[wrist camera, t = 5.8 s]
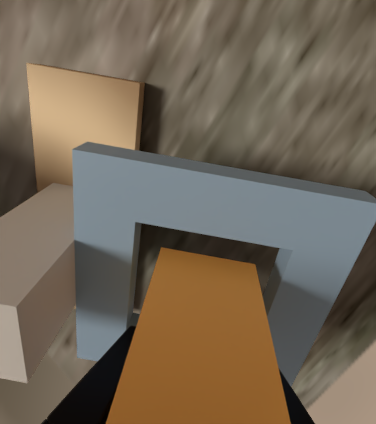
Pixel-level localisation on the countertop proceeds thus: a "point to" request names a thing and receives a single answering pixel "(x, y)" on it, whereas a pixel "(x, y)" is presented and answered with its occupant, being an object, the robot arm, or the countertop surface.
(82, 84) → the board
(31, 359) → the bracket
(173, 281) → the orange square post
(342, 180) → the countertop surface
